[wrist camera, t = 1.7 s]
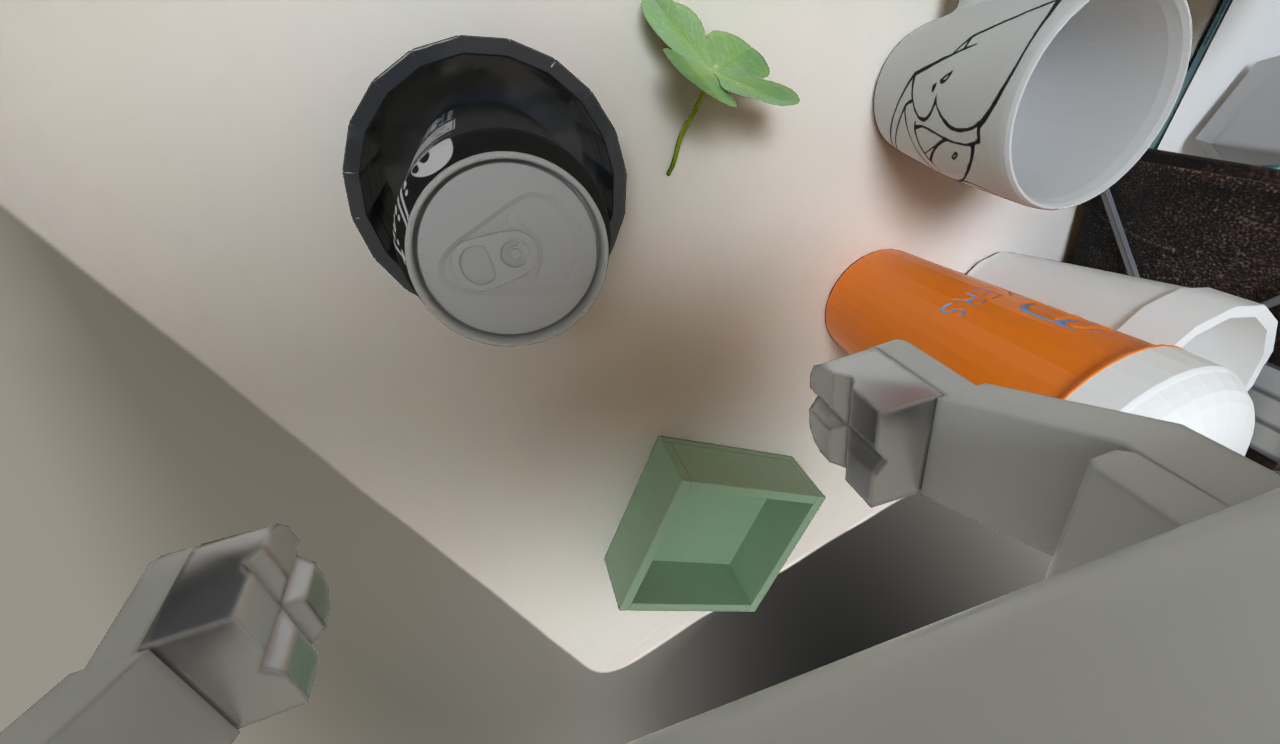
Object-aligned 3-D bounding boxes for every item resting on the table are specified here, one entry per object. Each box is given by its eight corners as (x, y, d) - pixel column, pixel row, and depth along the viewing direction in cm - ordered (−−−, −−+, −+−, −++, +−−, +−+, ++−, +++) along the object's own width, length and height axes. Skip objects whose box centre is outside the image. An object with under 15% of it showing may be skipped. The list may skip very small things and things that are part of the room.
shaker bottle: (901, 361, 40) (1221, 583, 23) (794, 359, 37) (1072, 613, 20) (952, 239, 36) (1386, 403, 19) (837, 227, 33) (1229, 408, 16)
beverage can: (577, 223, 28) (643, 319, 18) (451, 264, 27) (447, 387, 17) (535, 82, 24) (589, 103, 14) (389, 123, 24) (338, 176, 14)
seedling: (644, 101, 31) (695, -23, 26) (752, 192, 30) (826, 84, 25) (560, 140, 27) (600, 1, 21) (683, 247, 26) (755, 131, 21)
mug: (885, -86, 25) (1094, -154, 17) (1030, -76, 27) (1281, -133, 19) (840, 173, 31) (979, 218, 23) (962, 166, 33) (1132, 204, 25)
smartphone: (1192, 206, 40) (1347, -68, 33) (1200, 208, 40) (1360, -70, 32) (1117, 204, 38) (1265, -91, 30) (1124, 206, 38) (1276, -92, 30)
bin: (604, 558, 41) (618, 610, 37) (658, 435, 37) (682, 480, 33) (730, 565, 46) (754, 611, 42) (792, 456, 41) (826, 497, 38)
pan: (342, 255, 26) (326, 285, 23) (382, -11, 22) (368, -23, 18) (567, 309, 30) (581, 341, 27) (637, 98, 26) (663, 105, 23)
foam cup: (942, 245, 35) (1156, 330, 24) (1061, 215, 37) (1310, 283, 26) (921, 369, 40) (1090, 484, 30) (1026, 338, 42) (1223, 437, 31)
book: (1475, 217, 21) (1583, 189, 21) (1084, 146, 35) (1153, 130, 35) (1234, 577, 32) (1307, 554, 33) (1014, 414, 47) (1067, 400, 47)
